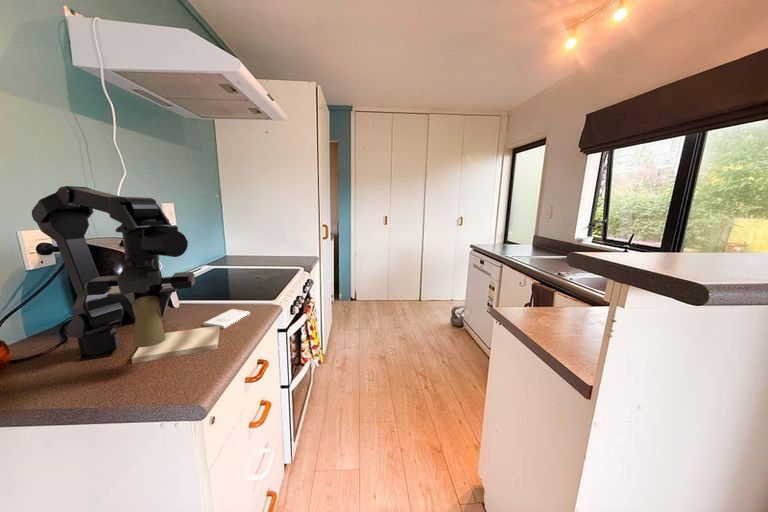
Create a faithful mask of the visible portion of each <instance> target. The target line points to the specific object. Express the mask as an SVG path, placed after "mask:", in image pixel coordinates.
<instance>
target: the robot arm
mask: <svg viewBox="0 0 768 512" xmlns="http://www.w3.org/2000/svg"><path fill="white" fill-rule="evenodd" d="M94 210H96V211H98V212H99V211H100V212H103V213H107V214H108V215H109V218H111V219H112V220H114V221H116V222H118V223H119V224H120V223H121V224H120V226H118V227H117V228H116V229H115V232H116V233H122V234H121V235H122V241H123V250H124V257H125V258H124V260H123V268H122V271H121V272H120V274H119V275H106V276H100V275H99V272H98V269H97V267H96V264H95V262H94V259H93V256H92V253H91V251H90V248H89V246H88V243H87V240H86V237H85V235H86V232H87V231H88V229H89V226H90V222H89V218H90V217H91V216H92V215H93V214H94ZM31 217H32V220H33V221H34V222H35V223H36V224H37V227H38V228H39V230H40V232H42V233H43V234H44V235H46V236H47V237H49V238H50V239H52V240H54V241H55V243H56V246H57V248H58V250H59V253H60V255H61V259H62V261H63V264H64V266H65V269H66V271H67V273H68V276H69V279H70V282H71V284H72V286H73V289H74V291H75V294H76V300H75V303H74V305H73V307H72V309H71V310H72V315H73V318H72V319H71V321H70V322H69V323H68V325H67V327H66V328H65V330H66V332H67V335H68V337H70V338H74V339H77V344H78V349H79V356H78V357H77V358H76V361H80V362H81V361H85V360H92V359H97V358H104V357H110V356H112V355H114V353H115V352H116V351H117V349H118V348H119V347H120V346H121V342H120V337H119V336H120V334H119V332H118V331H116V328H117V327H121V326H122V324H123V319H124V315H125V314H124V312H125V311H124V308H125V310H126V312H127V313H128V314H129V316H130V317H131V319H132V320H135V318H136V312H135V311H134V310H133V308H132V304H133V302H134V300H136V299H135V298H136V297H135V293H140V294H141V293H142V294H144V293H147V292H149V291H150V290H151V287H154V286H155V287H158V286H161V287H162V288H161V290H160V291H159V293H158V294H159V295H160V300H161V302H160V308H159V313H160V317H164V315H165V313H166V311H167V306H168V304H169V301H170V298H171V297H172V294H173V293H176V292H177V291H178V290H180V289H190V288H193V286H194V284H195V283H196V276H195V273H194V272H192V271H184V272H174V274H173V275H171V276H164V277H163V276H162V275H163V274H162V271H161V270H160V268H161V267H160V261H159V260H160V256H162V257H168V258H169V257H171V258H177V257H180V256H182V255H184V254H185V252H186V251H187V250H188V245H189V243H188V239H187V237H186V236H185V234H183V232H181V231H179V228H178V226H177V225H172V224H171V222H170V220H169V219H168V217H167V216H166V214H165V213H164V212H163V210H162V209H161V207H160V205H159V204H158V203H157V201H156V199H155V198H152V197H141V196H140V197H138V196H134V197H133V196H120V195H116V194H112V193H108V192H103V191H100V190H96V189H92V188H89V187H87V186H75V185H64V186H60V187H59V188H58V189H57V191H55V192H54V193H51V194H49V195H47V196H44V197H43V198H40V199H39V200H38V201H37V203H36V204H35V206H34V207H33V208H32V210H31Z"/></svg>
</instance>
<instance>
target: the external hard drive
mask: <svg viewBox="0 0 768 512" xmlns="http://www.w3.org/2000/svg"><path fill="white" fill-rule="evenodd" d="M249 314H250V315H251V312H250V311H249V310H248V311H246V310H240V309H234V308H233V309H232V308H231V309H229V310H227V311H224V312H223V313H220V314H218V315H216V316H215V317H213V318H210V319H208V320H206V321H204V322H203V323H202V326H204V327H213V326H219V327H220V329H222V328H223V329H227V328H228V327H230V326H232V325H233V323H234V324H236V323H237V322H239V321H241V320H242V319H241V318H243V317H245V316H247V315H248V316H250V315H249ZM248 316H247V317H248ZM245 318H246V317H245ZM240 319H241V320H240ZM243 319H244V318H243ZM238 320H239V321H238ZM235 322H236V323H235ZM231 324H232V325H231Z"/></svg>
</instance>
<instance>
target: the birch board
mask: <svg viewBox="0 0 768 512" xmlns="http://www.w3.org/2000/svg"><path fill="white" fill-rule="evenodd" d="M220 330H221V328H220V327H219V326H213V327H209V326H205V327H199V328H193V329H191V328H190V329H186V330H179V331H172V332H164V333H165V337H166V339H165V340H164V341H163V342H161V343H159V344H157V345H153V346H149V347H137V350H136V351H135V353H134V354H133V355H132V357H131V363H132V364H139V363H144V362H151V361H155V360H156V361H157V360H163V359H168V358H173V357H179V356H185V355H191V354H196V353H203V352H209V351H213V350H218V345H219V338H220V332H221V331H220Z"/></svg>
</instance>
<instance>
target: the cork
mask: <svg viewBox="0 0 768 512" xmlns="http://www.w3.org/2000/svg"><path fill="white" fill-rule="evenodd" d="M160 302H161V298H159V297H158V296H155V295H147V296H142V297H138V298H136V299H135V300H134V302H133V304H132V308H133V310H134V311H135V312H136V318H135V319H134V320H135V321H134V329H133V330H134V331H133V339H132V340H133V341H132V345H133V347H136V348H139V347H149V346H153V345H157V344H159V343H161V342H163V341H164V340H165V339H166V337H165V333H166V332H165V330H164V326H163V322H162V316H161V313H160Z"/></svg>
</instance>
